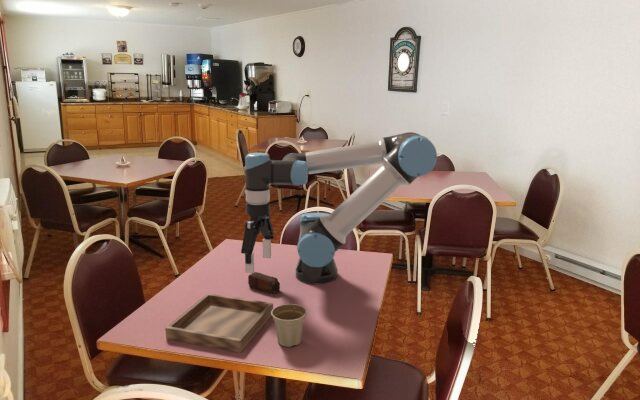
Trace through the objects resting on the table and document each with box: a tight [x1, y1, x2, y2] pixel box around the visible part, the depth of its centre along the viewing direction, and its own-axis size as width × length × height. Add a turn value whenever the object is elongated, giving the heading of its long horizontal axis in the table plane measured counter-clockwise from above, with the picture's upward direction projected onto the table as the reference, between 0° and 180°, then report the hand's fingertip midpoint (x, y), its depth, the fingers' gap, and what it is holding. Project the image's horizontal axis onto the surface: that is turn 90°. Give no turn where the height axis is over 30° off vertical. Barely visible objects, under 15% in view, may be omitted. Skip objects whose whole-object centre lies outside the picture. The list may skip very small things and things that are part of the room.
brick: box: [247, 271, 281, 295], centre depth 154 cm, size 11×4×5 cm, turn 59°
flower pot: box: [271, 303, 308, 348], centre depth 122 cm, size 9×9×9 cm
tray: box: [164, 292, 274, 353], centre depth 130 cm, size 22×22×3 cm
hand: (258, 264), depth 150 cm, fingers open, 13 cm apart
